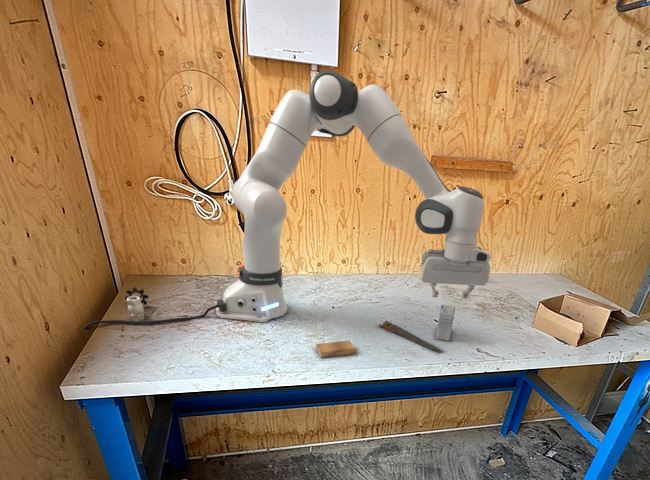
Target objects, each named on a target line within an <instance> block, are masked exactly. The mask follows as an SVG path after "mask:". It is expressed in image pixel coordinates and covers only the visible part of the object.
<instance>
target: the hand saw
mask: <svg viewBox="0 0 650 480" xmlns="http://www.w3.org/2000/svg"><path fill="white" fill-rule="evenodd" d="M378 326H379V327H380V328H382V329H385V330H387V331H389V332H391V333H395V334H397V335H400V336H402V337H404V338H406V339H407V340H410V341H413V342H415V343H416V344H419V345H421V346H424V347H425V348H428V349H430V350H432V351H434V352H436V353H440V352H442V351H443V350H442V349H440V348H438V347H436V346H435V345H433V344H432V343H429V342H427V341H426V340H424V339H422V338H421V337H418V336H416V335H414V334H413V333H412V332H409V331H407V330H406V329H404V328H402V327H400V326H398V325H397V324H394V323H392V322H390V321H388V320H385V322H384V323H382V324H380V323H379V324H378Z"/></svg>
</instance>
